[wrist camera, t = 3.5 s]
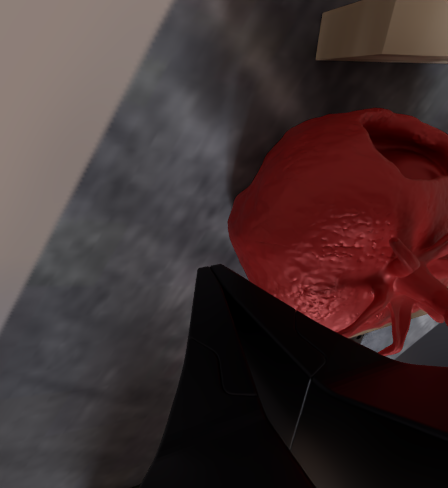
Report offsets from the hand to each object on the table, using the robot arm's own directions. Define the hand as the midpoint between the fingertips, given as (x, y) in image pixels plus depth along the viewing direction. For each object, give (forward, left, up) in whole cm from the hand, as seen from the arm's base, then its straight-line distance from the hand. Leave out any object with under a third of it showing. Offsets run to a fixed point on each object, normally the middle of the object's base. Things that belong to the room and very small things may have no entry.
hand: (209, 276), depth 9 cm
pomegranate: (-6, 0, -5) cm, 8 cm away
